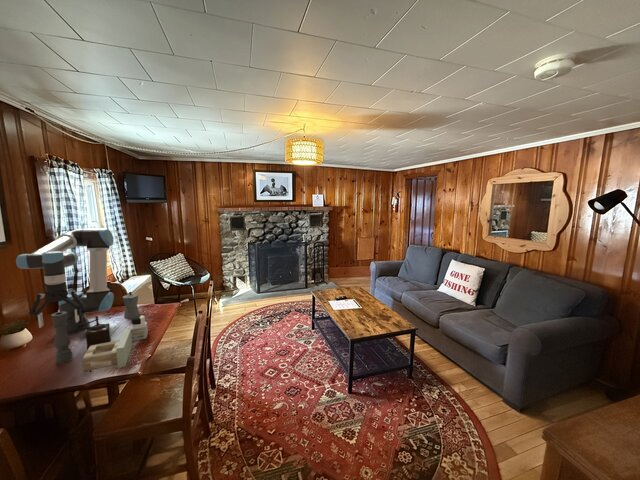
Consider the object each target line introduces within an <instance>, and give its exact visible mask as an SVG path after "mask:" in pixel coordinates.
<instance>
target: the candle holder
mask: <svg viewBox="0 0 640 480" xmlns="http://www.w3.org/2000/svg"><path fill="white" fill-rule="evenodd" d="M50 317H51V322H52V323H53V327H52V328H53V329H54V330H55V338H54V343H53V347H54V348H55V349H56V352H55V356H54V358H55V364H58V365H59V364H65V363H68V362H70V361H72V360H73V351H72V348H70V345H71V341H72V340H71V338H70V336H69V334H67V331H66V326H67V323H65V322H66V321H67V318H68V317H67V312H65V311H63V312H60V311H58V312H54V313H52V314H50Z"/></svg>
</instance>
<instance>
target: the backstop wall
mask: <svg viewBox="0 0 640 480" xmlns="http://www.w3.org/2000/svg"><path fill="white" fill-rule="evenodd" d="M119 340H120V341H119ZM119 340H118V341H119V344H118V346H117V348H116V352H117V363H118V364H117V368H118V369H119V368H124V367H126V365H127V362H128V360H129V359H128V358H130V357H129V356H130V354H131V350H132V347H133V341H132V338H131V329H130V328H129V329H124V330H123V332H122V334H121V337H120V339H119Z"/></svg>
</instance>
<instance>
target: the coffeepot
mask: <svg viewBox="0 0 640 480" xmlns="http://www.w3.org/2000/svg"><path fill="white" fill-rule="evenodd" d="M138 300H139V294H138V293H132V291H130V292H127V294H126V295H123V296H122V301H123V305H124V307H125V309H124V315H123V317H124V319H129V318H130V319H132V318H133V317H135V316H139V315H141V314H140V310H139V306H138V303H139V301H138Z"/></svg>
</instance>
